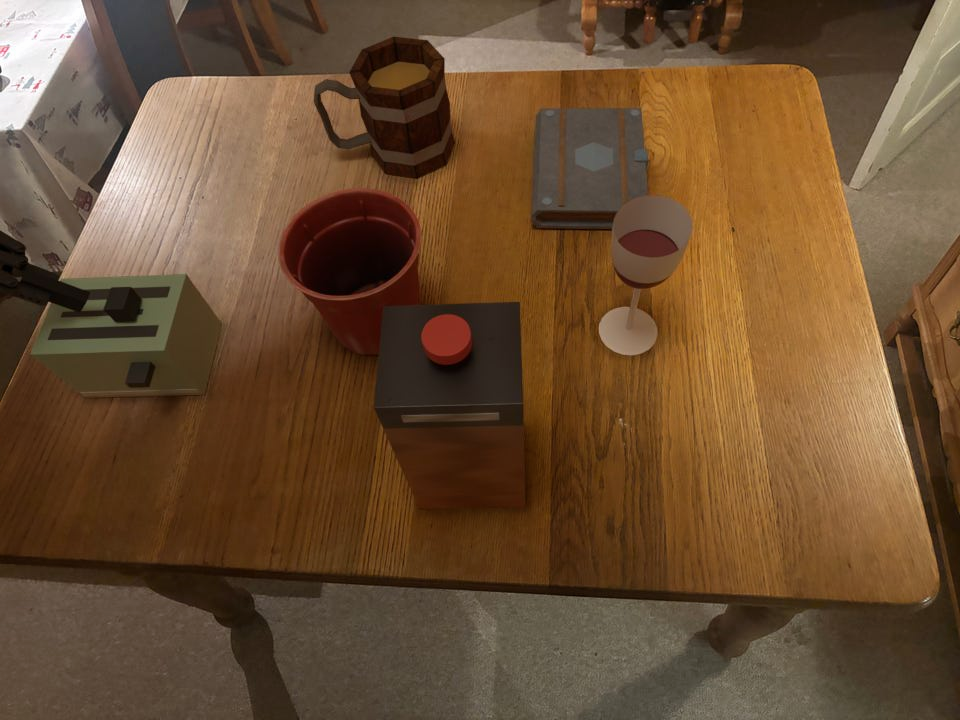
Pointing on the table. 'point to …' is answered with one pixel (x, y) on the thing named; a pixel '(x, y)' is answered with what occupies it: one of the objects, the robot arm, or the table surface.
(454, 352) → the timer button
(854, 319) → the table surface
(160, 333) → the toaster
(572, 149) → the book
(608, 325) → the wineglass
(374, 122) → the mug
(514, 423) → the red button pedestal
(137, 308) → the slider
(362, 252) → the flower pot
